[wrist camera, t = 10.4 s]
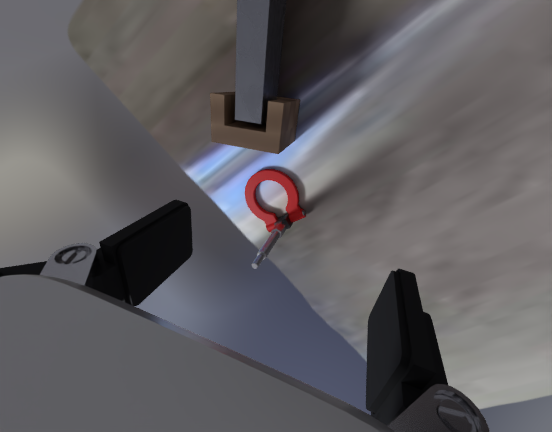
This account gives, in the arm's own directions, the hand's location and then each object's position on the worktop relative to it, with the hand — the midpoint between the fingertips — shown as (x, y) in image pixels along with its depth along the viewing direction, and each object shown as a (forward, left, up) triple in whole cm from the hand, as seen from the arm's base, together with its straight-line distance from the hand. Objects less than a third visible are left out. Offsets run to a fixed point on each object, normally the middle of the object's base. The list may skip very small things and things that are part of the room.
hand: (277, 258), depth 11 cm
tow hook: (+7, +9, -25) cm, 27 cm away
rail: (+9, -11, -22) cm, 26 cm away
